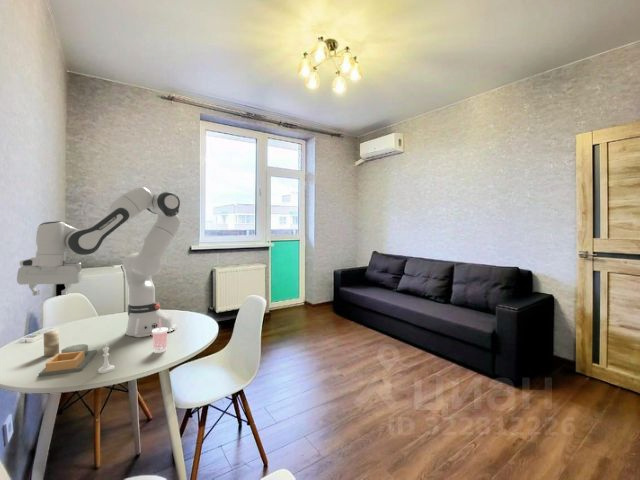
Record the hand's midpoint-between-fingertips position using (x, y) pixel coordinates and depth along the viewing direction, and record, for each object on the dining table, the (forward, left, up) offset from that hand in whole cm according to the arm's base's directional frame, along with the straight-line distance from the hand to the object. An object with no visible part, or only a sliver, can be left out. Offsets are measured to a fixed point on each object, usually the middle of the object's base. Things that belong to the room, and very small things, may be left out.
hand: (50, 294), depth 118 cm
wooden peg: (-1, +2, -24) cm, 24 cm away
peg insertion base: (-11, +14, -24) cm, 30 cm away
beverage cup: (-41, +13, -24) cm, 49 cm away
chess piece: (-25, +25, -24) cm, 43 cm away
